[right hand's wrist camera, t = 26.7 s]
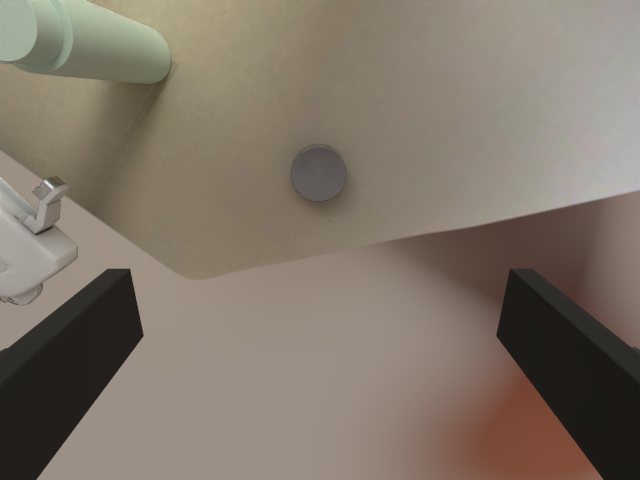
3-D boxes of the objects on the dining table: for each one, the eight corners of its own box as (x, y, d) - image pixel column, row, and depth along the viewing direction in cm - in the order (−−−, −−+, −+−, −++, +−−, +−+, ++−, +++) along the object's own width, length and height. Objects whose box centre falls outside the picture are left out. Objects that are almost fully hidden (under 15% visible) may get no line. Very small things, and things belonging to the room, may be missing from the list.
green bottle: (116, 22, 34) (-67, -47, 18) (170, 29, 34) (38, -33, 18) (120, 80, 35) (-43, 65, 20) (172, 87, 36) (52, 77, 20)
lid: (306, 203, 40) (305, 210, 38) (283, 157, 38) (281, 161, 36) (352, 183, 39) (354, 188, 37) (331, 134, 37) (332, 137, 35)
